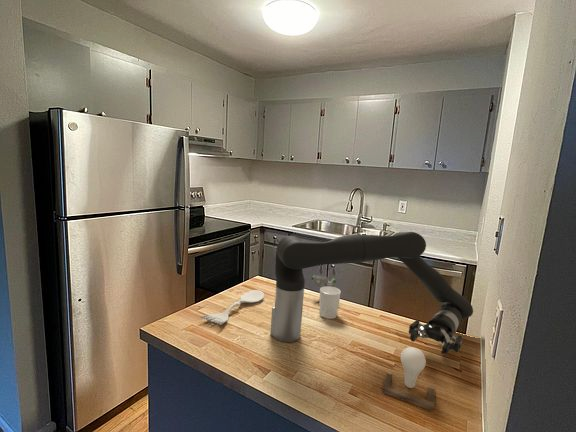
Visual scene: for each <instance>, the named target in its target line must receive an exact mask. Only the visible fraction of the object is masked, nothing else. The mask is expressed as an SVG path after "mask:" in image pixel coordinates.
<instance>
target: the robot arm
mask: <svg viewBox="0 0 576 432" xmlns="http://www.w3.org/2000/svg"><path fill="white" fill-rule="evenodd" d="M426 248H427V242H426V239H425V238H424V237H423V236H422V235H421V234H419V233H418V232H414V231H401V232H395V233H394V234H393V235H379V234H378V235H376V234H349V235H340V236H339V237H336V238H333V239H331V240H328V241H323V242H309V241H308V242H307V241H303V240H301V239H300V238H299V237H297V236H294V235H286V236H284V237H283V238H281V239H280V241H278V243H277V246H276V250H275V266H274V267H275V270H274V271H275V272H274V273H275V274H274V275H275V280H276V283H275V297H274V298H275V299H274V306H273V307H272V308H271V320H270V336H273V337H274V339H275V340H278V341H279V342H283V343H293V342H297V341H298V340H299V339H300V338H301V332H302V319H303V307H304V306H303V305H304V293H305V285H306V284H305V282H306V281H305V277H304V271H303V269H308V268H314V267H318V266H324V265H341V264H342V265H343V264H356V263H363V262H364V263H365V262H373V261H378V260H384V259H389V258H397V259H398V260H400V262H402V263H403V264H404V265H405V266H406V267H407V268H408V269H409V270H410V271H411V272H412V273H413V274H414V275H415V276H416V277H417V278H418V279H419V281H421V283H422V284H423V285H424V286H425V288H426V289H427V290H428V291H429V292H430V294H431V296H432V297H433V298H434V299H435V300H436V301H437V302H439V303H441V304H440V305H439V311H438V312H437V313H435V314H434V315H433V316H432V318H430V319H429V321H428V322H427V323H426V324H425V323H424V324H421V322H420V320H418V319H417V320H415V321H413V322H412V323H411V324H409V328H408V334H410V336H409V339H410V341H411V342H415V341H416V340H417V339H418V338H421V339H430V340H434V341H436V342H439V343H440V344H441V345H442V347H441V354H443V355H445V354H449V352H450V351H454V352H455V353H459V351H460V349H461V346H462V342H463V336H461V335H457V336H454V334H455V333H456V332H457V330H458V328H459V326H460V324H461V322H462V320H463V319H467V318H470V317H472V316H473V313H474V308H473V305H472V304H471V302H470V301H469V300H468V299H467V298H465V296H463V295H462V294H460V293H459V292H458V291H456V290H455V289H453V288H452V286H451V285H450V283H449V282H448V281H447V280H446V278H445V277H444V276H443V275H442V274H441V273H440V272H439V271H438V270H436V269H435V268H434V267H432V266H431V265H430V264H428V262H426V261H425V260H424V259H423V258H422V257H421V255H423V254H424V253H425V251H426Z"/></svg>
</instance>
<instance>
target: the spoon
mask: <svg viewBox="0 0 576 432" xmlns="http://www.w3.org/2000/svg"><path fill="white" fill-rule="evenodd" d="M264 298H265V293H264V292H263V291H261V290H259V289H252V290H248V291H246V292H244V293H243V294H241V296H240V297H239V300H238V301H233V302H232V303H231V305H229V306H228V307H227V308H226V309H225V311H223V312H221V313H212V314H202V315H201V316H200V319H203V320H206V321H209V322H211V323H214V324H217V325H220V326H221V325H223V324H225V323H226V322H227V321H229V314H230V313H231V311H232V309H233V308H235V307H236V306H237V307H238V306H240V305H241V304H244V303H247V304H254V303H258V302H260V301H262V300H263V299H264Z"/></svg>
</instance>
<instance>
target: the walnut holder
mask: <svg viewBox="0 0 576 432" xmlns="http://www.w3.org/2000/svg"><path fill="white" fill-rule="evenodd" d="M392 380H393V374H392V373H391V374H390V373H388V372H387V373H386V375H385V378H384V382H383V385H382V388H381V389H382V391H381V392H382V393H383V394H385V395H388V396H391V397H394V398H396V399H398V400H402V401H404V402H407V403H410V404H412V405H415V406H417V407H420V408H423V409H426V410H428V411H432V412H434V409H435V388H433V387H429V386H428V387H427V393H426V394H427V395H426V396H427V397H426V399H424V398H422V397H419V396H416V395H414V394H410V393H408V392H405V391H402V390H399V389H397V388H395V387H394V388H393V387H391V384H392ZM382 393H381V394H382Z"/></svg>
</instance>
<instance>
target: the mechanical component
mask: <svg viewBox="0 0 576 432" xmlns="http://www.w3.org/2000/svg"><path fill="white" fill-rule="evenodd" d="M310 280H311V281H312V283H313V286H315V287H319V289H320V288H322V287H326V286H329V287H334V284H336V282H337V281H336V280H337V279H335V278H333V277H332V279H331V280H329V279H328V277H327V276H325V275H318V274H317V275H316V274H314V275H312V276H311V279H310Z"/></svg>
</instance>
